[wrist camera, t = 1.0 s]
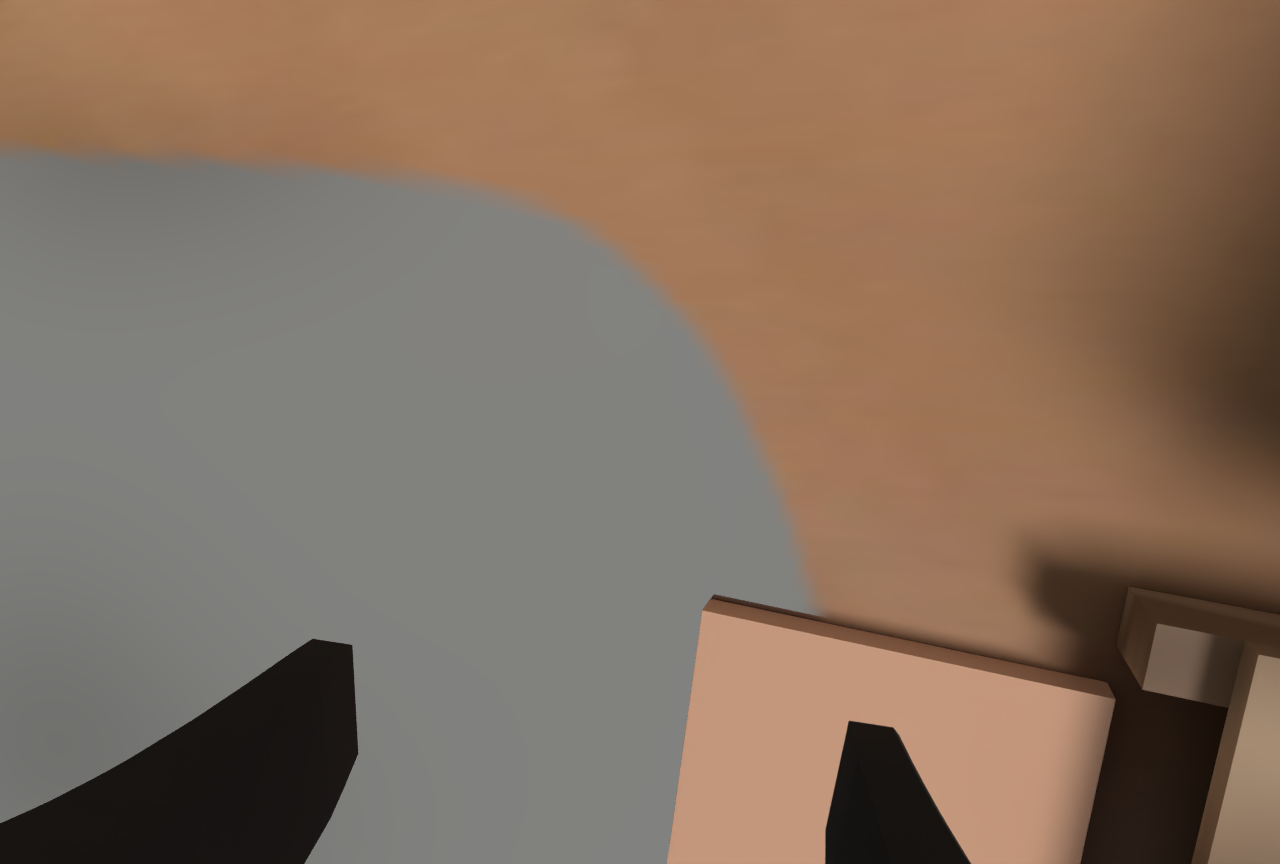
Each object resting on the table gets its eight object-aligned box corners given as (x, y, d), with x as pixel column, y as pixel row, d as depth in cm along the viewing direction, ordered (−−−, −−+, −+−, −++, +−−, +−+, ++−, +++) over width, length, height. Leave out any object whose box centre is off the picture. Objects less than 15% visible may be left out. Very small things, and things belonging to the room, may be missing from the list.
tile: (1046, 944, 30) (1054, 982, 28) (679, 840, 33) (666, 869, 31) (1103, 675, 28) (1115, 699, 27) (713, 594, 32) (702, 610, 30)
